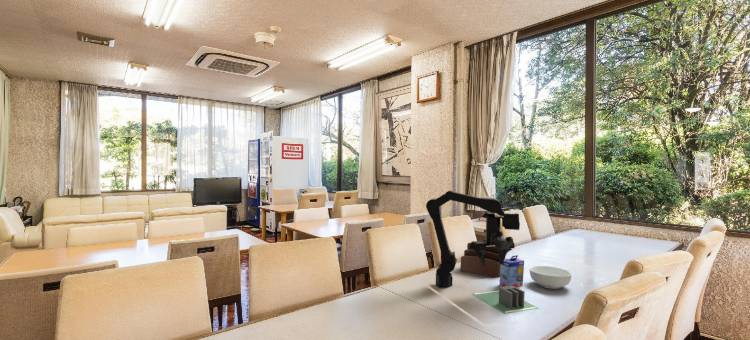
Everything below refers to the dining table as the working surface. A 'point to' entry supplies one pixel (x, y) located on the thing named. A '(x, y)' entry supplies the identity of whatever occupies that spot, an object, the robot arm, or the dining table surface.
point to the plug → (511, 296)
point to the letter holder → (473, 263)
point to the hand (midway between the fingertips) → (492, 265)
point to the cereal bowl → (550, 276)
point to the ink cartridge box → (512, 272)
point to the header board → (493, 300)
